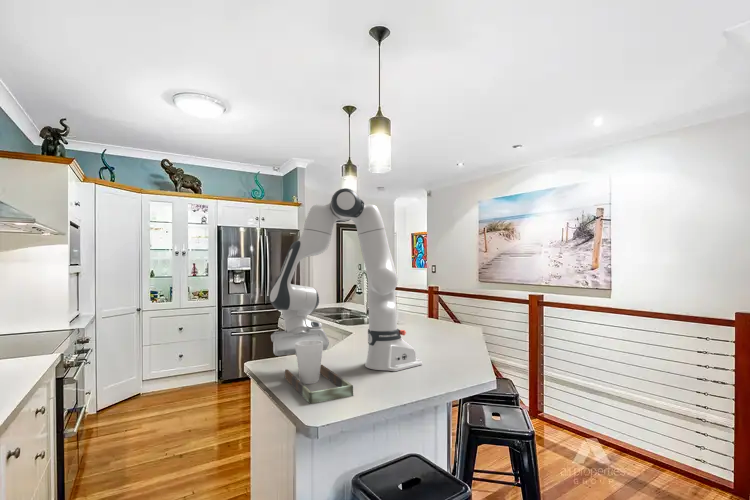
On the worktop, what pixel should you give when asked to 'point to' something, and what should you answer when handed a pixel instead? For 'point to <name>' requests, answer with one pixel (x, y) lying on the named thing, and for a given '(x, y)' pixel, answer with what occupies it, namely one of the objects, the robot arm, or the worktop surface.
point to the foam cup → (309, 360)
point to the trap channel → (322, 395)
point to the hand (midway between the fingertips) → (305, 361)
